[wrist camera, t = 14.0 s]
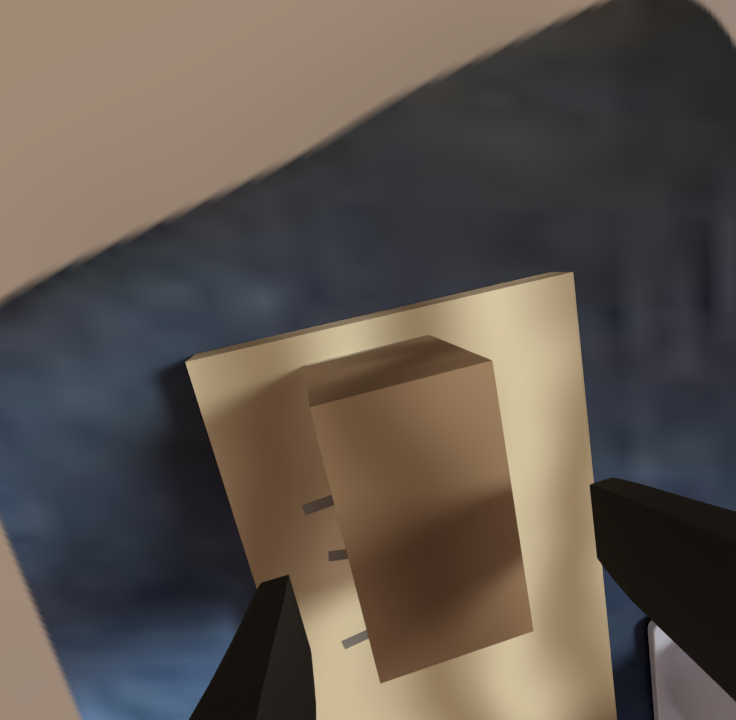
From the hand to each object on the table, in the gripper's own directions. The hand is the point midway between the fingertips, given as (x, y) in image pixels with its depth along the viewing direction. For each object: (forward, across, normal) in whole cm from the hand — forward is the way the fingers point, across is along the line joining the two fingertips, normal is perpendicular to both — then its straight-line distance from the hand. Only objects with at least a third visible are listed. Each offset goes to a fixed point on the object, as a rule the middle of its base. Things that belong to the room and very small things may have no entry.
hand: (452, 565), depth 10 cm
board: (+8, -1, +7) cm, 10 cm away
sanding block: (+6, 0, 0) cm, 6 cm away
